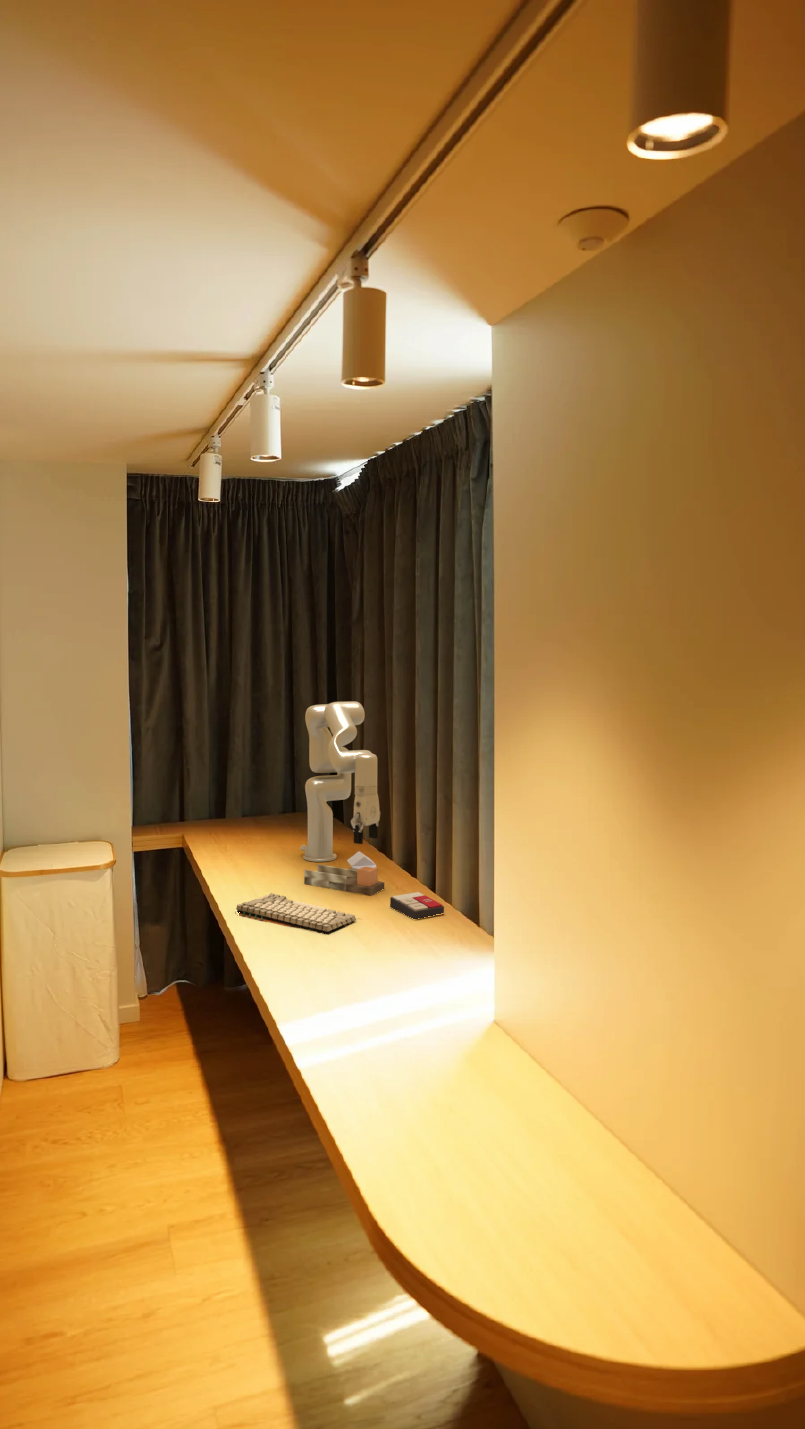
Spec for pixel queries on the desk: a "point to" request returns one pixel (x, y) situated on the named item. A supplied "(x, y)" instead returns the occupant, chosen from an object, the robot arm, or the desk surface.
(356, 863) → the wedge on round base
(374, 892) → the open channel deck
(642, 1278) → the desk surface
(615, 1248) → the desk surface
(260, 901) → the mechanical keyboard
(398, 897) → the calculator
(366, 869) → the block
